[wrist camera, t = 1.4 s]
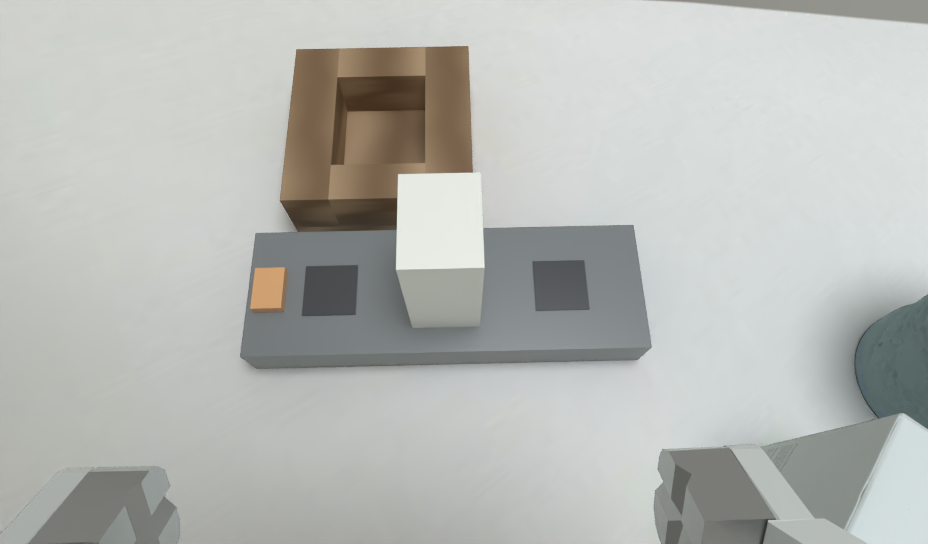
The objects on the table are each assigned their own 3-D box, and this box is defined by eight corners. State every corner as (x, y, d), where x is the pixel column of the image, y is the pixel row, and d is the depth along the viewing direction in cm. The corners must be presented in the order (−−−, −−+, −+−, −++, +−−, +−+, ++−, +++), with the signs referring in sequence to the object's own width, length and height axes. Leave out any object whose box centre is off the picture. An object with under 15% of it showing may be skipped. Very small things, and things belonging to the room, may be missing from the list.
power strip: (257, 368, 37) (235, 353, 33) (270, 252, 40) (251, 228, 36) (637, 359, 37) (655, 344, 34) (621, 244, 40) (636, 219, 37)
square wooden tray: (299, 232, 40) (279, 200, 36) (312, 92, 45) (296, 49, 41) (472, 228, 41) (473, 196, 36) (468, 89, 45) (468, 46, 41)
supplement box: (816, 644, 31) (1027, 722, 19) (694, 548, 33) (820, 568, 21) (873, 525, 33) (1094, 532, 22) (756, 442, 35) (901, 406, 23)
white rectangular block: (415, 337, 37) (395, 269, 26) (415, 263, 38) (398, 174, 28) (479, 336, 37) (484, 267, 26) (476, 262, 38) (480, 172, 28)
